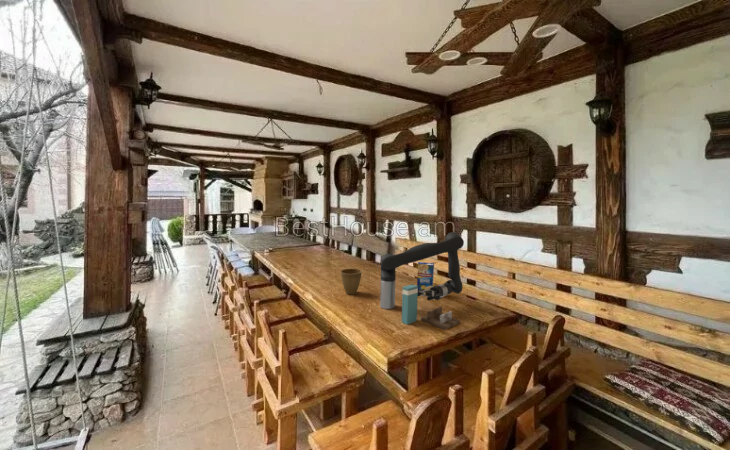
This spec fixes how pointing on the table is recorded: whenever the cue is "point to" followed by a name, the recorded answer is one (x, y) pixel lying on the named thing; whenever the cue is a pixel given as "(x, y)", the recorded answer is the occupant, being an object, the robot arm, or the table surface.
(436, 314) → the book rack
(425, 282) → the blue food box
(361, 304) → the table surface
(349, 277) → the plant pot
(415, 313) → the book
